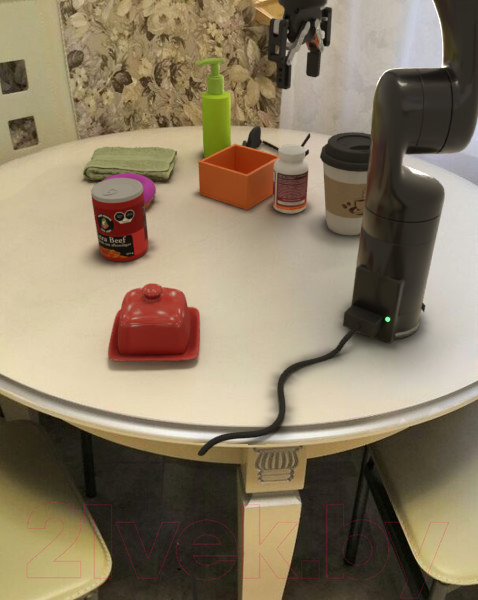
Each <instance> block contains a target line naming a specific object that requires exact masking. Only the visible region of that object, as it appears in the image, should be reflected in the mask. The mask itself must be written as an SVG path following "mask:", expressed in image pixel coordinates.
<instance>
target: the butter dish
mask: <svg viewBox="0 0 478 600" xmlns="http://www.w3.org/2000/svg"><path fill="white" fill-rule="evenodd" d="M200 339H201V315H200V310H199V309H198V308H197V307H193V306H188V301H187V298H186V295H185V293H184V292H183V291H181V290H180V289H177V288H172V287H165V286H161V285H160V284H159V283H155V282H151V283H147V284H145V285H143V287H137V288H136V287H135V288H133V289H130V290H129V291H128V292H126V293H125V295H124V297H123V299H122V303H121V306H120V309H119V310H118V311H117V312H116V315H115V317H114V321H113V325H112V328H111V333H110V338H109V344H108V348H107V349H108V350H107V357H108V358H109V360H111V361H115V362H169V361H170V362H172V361H173V362H175V361H178V362H180V361H181V362H183V361H189V360H190V361H192V360H195V359H197V358H198V357H199V354H200V343H201V342H200V341H201V340H200Z"/></svg>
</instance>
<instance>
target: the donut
mask: <svg viewBox="0 0 478 600" xmlns="http://www.w3.org/2000/svg"><path fill="white" fill-rule="evenodd" d="M113 178H130V179H135V180H137V181H139V182H140V183H141V184H142V186H143V191H144V200H145V209H146V208H147V207H148V206H150V205H151V202H152V200H153V198H155V196H156V190H157V187H156V184H155V183H154V181H151V180H150V179H148V178H146V177H144V176H142V175H139V174H134V173H123V174H117V175H113V176H110V177H107V178H106V179H104V180H102V181H105V180H108V179H113Z"/></svg>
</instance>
